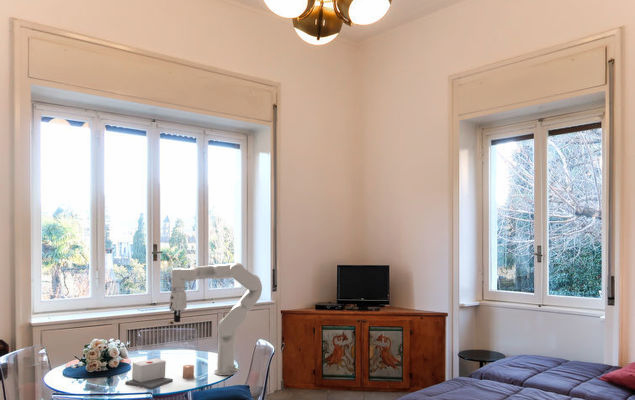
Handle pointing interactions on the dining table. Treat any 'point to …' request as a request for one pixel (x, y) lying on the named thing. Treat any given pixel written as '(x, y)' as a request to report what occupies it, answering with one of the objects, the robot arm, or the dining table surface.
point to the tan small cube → (188, 371)
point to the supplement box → (148, 370)
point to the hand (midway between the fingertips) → (177, 321)
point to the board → (149, 383)
